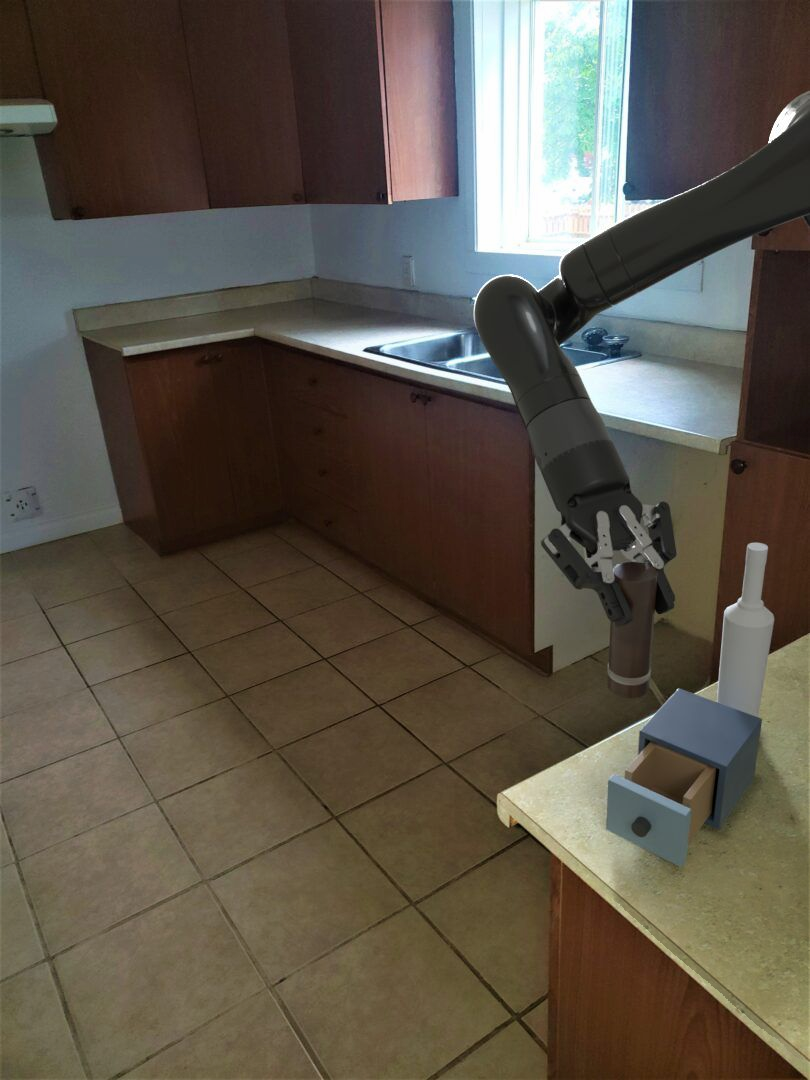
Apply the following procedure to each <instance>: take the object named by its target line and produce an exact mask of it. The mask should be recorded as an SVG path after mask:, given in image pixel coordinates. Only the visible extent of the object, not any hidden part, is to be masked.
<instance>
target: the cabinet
mask: <svg viewBox="0 0 810 1080" xmlns="http://www.w3.org/2000/svg"><path fill="white" fill-rule="evenodd" d="M762 723H763V718H762V717H759V716H758V717H756V716H753V715H750V714H748V713H745V712H742V711H739V710H737V709H734V708H731V707H728V706H726V705H723V704H720V703H718V702H717V701H715V700H712V699H709V698H706V697H704V696H701V695H698V694H696V693H693V692H690V691H688V690H685V689H682V688H680V687H679V688H677V689H676V690H675V692H674V693H673V694H672V695H671V696H670V697H669V698H668V699H667V700H666V701H665V702H664V703H663V704H662V706H661V707H659V709H658V710H657V711H656V712H655V713H654V714H653V716H651V718H650V719H649V720H648V721H647V722H646V723H645V724H644V725H643V726H642V728H641V729H640V730H639V732H638V734H639V736H638V749H637V756H638V755H639V754H640V753H641V752H642V751H643V750H644V748H645V747H646V746H647V745H648V744H649V743H650V742H651V741H653V742H655V743H658V744H660V745H662V746H665V747H667V748H670V749H672V750H674V751H677V752H679V753H681V754H684V755H686V756H689V757H691V758H693V759H696V760H698V761H701V762H703V763H705V764H708V765H710V766H713V767H715V768H716V776H715V785H714V794H713V802H712V811H711V814H710V816H709V817H708V818H707V820H706V821H705V823H704V824H705V825H708V826H710V827H712V828H714V829H716V830H719V831H720V829H721V828H722V826H723V825H724V824H725V822H726V820H727V819H728V818H729V816H730V815H731V813H732V812H733V810H734V809H735V807H736V806H737V804H738V803H739V802H740V800H741V799H742V797H743V796H744V794H745V793H746V792H747V790H748V788H749V787H750V786H751V784H752V783H753V781H754V780H755V774H756V773H755V772H756V767H757V759H758V751H759V744H760V737H761V733H762V731H761V730H762Z"/></svg>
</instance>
